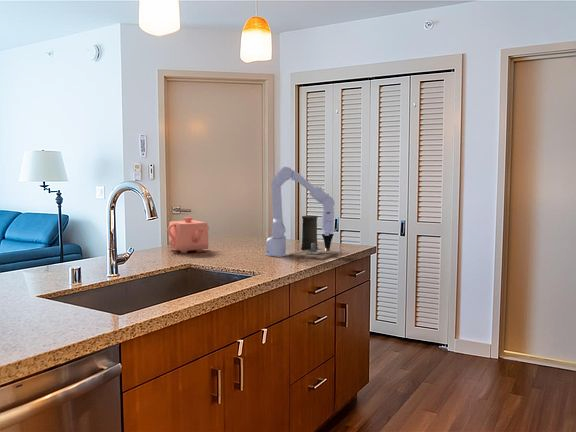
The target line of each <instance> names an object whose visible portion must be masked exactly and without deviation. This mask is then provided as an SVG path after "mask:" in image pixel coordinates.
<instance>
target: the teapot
mask: <svg viewBox="0 0 576 432" xmlns="http://www.w3.org/2000/svg"><path fill="white" fill-rule="evenodd" d="M183 218H184V220H174V221H169V225H168V227H167V228H166V229H167V230H166V231H167V234H168V246H169V248H172V249H174V252H180V254H188V253H187V252H189V251H195V252H197V253H203V250H207V249H208V250H209V228H210V227H209V225H208V222H205V221H200V220H196V219H195V220H194V219H193V217H192V216H185V217H183Z"/></svg>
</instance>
